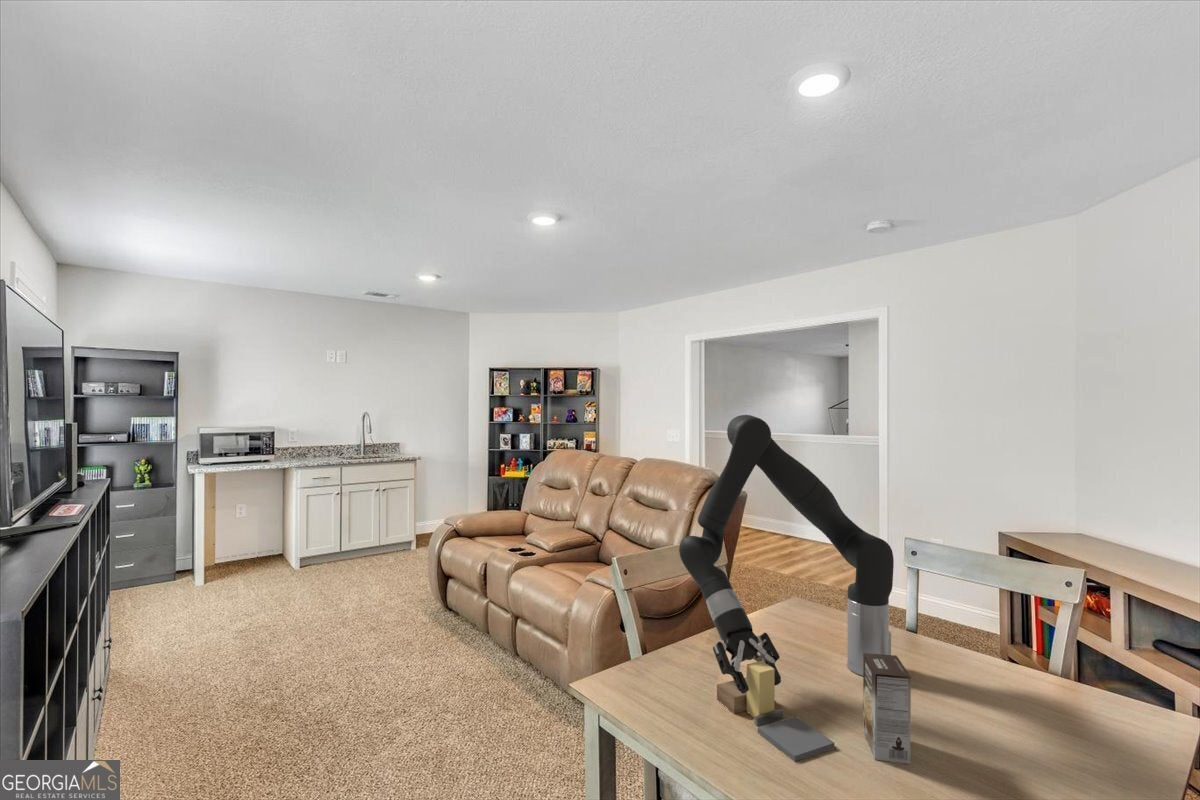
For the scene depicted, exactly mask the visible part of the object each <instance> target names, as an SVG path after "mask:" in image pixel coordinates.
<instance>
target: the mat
mask: <svg viewBox="0 0 1200 800" xmlns="http://www.w3.org/2000/svg"><path fill="white" fill-rule="evenodd" d="M757 734H759V735H760V736H761V737H762V738H764V739H765V740H766V741H768V742H769V743H770V744H771V745H773V746H774V747H776V749H778V750H779V751H780V752H782V753H783V754H784V755H786V756H787V757H788V758H789V759H791V760H792V761H793V762H794V763H795V762H797V761H801V760H803V759H807V758H808V757H812V756H815V755H818V754H821V753H824V752H827V751H829V750H833V749H835V747H836V746H835V742H834V741H833V740H832V739H830V737H829V738H828V737H827V736H826V735H825V734H823V733H821V732H820V731H818V730H817V729H816V728H814V727H813V726H811V725H809V724H808V723H807V722H806V721H804V720H802V719H800V718H799V717H798V716H797V715H795V716H792V717H789V718H783V719H780V720H777V721H773V722H770V723H767V724H763V725H760V726H757Z"/></svg>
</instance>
